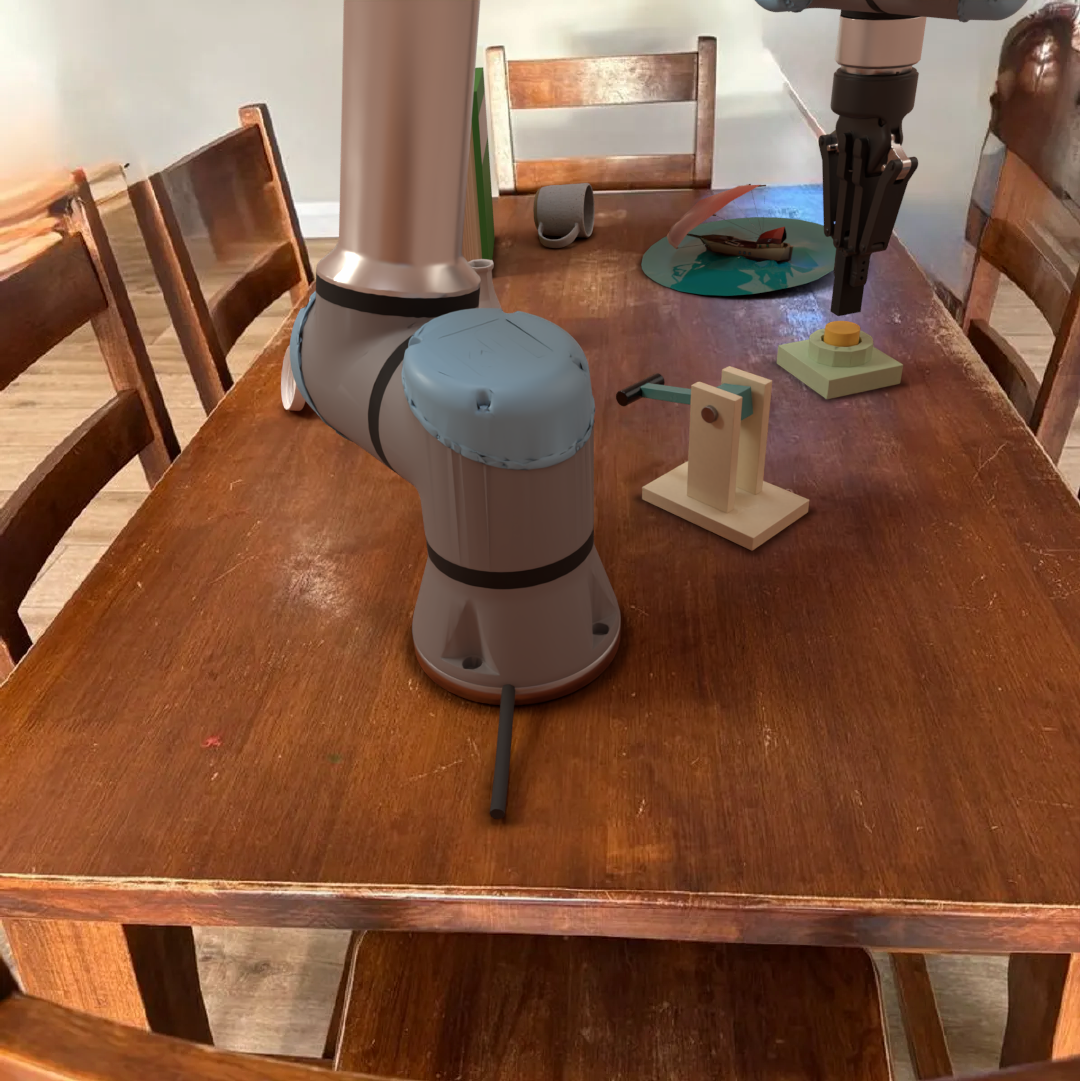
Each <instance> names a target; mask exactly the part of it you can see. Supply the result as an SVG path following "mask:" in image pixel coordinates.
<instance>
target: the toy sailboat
mask: <svg viewBox="0 0 1080 1081" xmlns="http://www.w3.org/2000/svg"><path fill="white" fill-rule="evenodd" d="M761 187H762V188H763V187H767V184H752V183H746V184H743V185H741V184H740V185H737V186H735V187H733V188H730V189H726V190H724V191H721V192H718V193H716V194H713V195H710V196H708V197H705V198H702V199H700V200H698V201H697V202H696V204H694V205H693V206H692V207H691V208H690V209H689V210H688V211H687V212H685V214H684V215H683V216H681V217H680V218H679V219H678V220H677V221H676V222H675V223H674V224H672V225H671V226H670V228H669V230H668V232H667V235H666V236H664V237H662V238H660V239H659V240H658V241H656V242H654V243H653V244H652V245H650V247H649V248H648V249H647V250H646V251H645V252H644V254H643V255H642V259H641V264H640V265H641V266H640V267H641V270H642V271H643V273H644V274H645V276H647V277H648V278H649V279H651V280H652V281H654V282H656V283H657V284H659V285H661V286H662V287H666V288H669V289H672V290H675V291H678V292H683V293H689V294H695V295H703V296H720V297H721V296H723V297H729V296H731V297H733V296H744V295H755V294H760V293H761V294H762V293H767V292H773V291H778V290H783V289H788V288H793V287H797V286H802V285H805V284H808V283H812V282H815V281H817V280H819V279H821V278H822V277H825V276H826V275H827V274H830V273H831V272H834V266H835V265H834V263H835V254H836V248H835V247H834V245H833V239H832V237H831V236H830V237H826V236H825V234H824V224H820V223H817V222H813V221H809V220H804V219H800V218H799V219H798V218H789V217H788V218H787V217H775V216H773V217H772V216H771V217H770V216H759V215H758V214H756V216H753V217H751V216H749V217H737V218H729V219H728V218H727V219H724V218H723V219H721V217H720V216H718V215H717V214H716V213H718V212H719V211H720V210H722V209H723V208H724V207H726V206H727V205H728V204H730V203H731V202H733V203H735V200H736V199H738V198H740V197H742V196H743V195H745V194H747V193H749V192H753V191H752V190H754V189H756V188H761ZM751 194H752V197H754V195H753V193H751ZM752 200H753V201H755V199H754V198H752ZM765 201H766V197H764V202H763V203H765ZM753 203H754V205H756V203H755V202H753ZM736 207H737V208H738V209H740V207H739V206H738V205H736ZM754 208H755V209H757V207H756V206H755V207H754ZM755 212H756V213H758V212H757V210H755ZM741 213H742V214H744V211H741ZM712 216H713V217H718V218H720V219H721V220H714V221H709V222H705V221H707V220H708V219H709V218H710V217H712Z"/></svg>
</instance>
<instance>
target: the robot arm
mask: <svg viewBox="0 0 1080 1081" xmlns="http://www.w3.org/2000/svg"><path fill="white" fill-rule="evenodd" d="M754 2H756V4H757V5H758V6H760V7H761V8H762V9H764V10H766V11H768V12H772V13H786V12H788V13H790V12H791V13H796V14H797V13H802V12H803V11H804V10H807V9H826V10H839V11H840V15H839V21H838V29H837V37H836V44H835V45H836V46H835V54H834V61H835V62H836V63H837V64H838V65H839V66H840V67H838V68H837V69H836V71H834V73H833V78H832V87H831V94H830V95H831V96H830V105H829V106H830V110H831V111H832V112H833V113H834V114H836V115H837V116H838V118H837V120H836V122H835V127H834V128H835V129H834V130H833V131H832V132H831V133H827V134H821V135H819V137H818V142H817V143H818V149H819V152H820V157H821V168H822V170H821V171H822V173H821V174H822V206H823V207H822V209H823V210H822V212H823V225H824V234H825V236H826V237H830V236H831V237H832V239H833V245H834V247H835V248H836V254H835V263H834V265H835V266H834V270H833V286H832V293H831V294H832V295H831V302H830V310H829V311H830V313H831V314H833V315H835V316H837V317H842V316H847V315H852V314H857V313H861V312H862V305H863V297H864V290H865V285H867V284H866V283H867V281H868V276H869V275H868V274H869V268H870V263H871V262H870V261H871V256H872V254H873V253H879V252H884V251H886V250H887V249H888V247H889V244H890V241H891V237H892V234H893V231H894V229H895V225H896V222H897V219H898V215H899V212H900V209H901V206H902V203H903V199H904V197H905V193H906V191H907V187H908V183H909V181H910V180H911V178H912V176H913V175H914V174H915V172H916V171H917V169H918V167H919V160H918V158H917V157H916V156H909V157H908V155H907V154H906V152H905V150H904V149H903V147H902V146H903V143H904V132H903V121H904V119H905V118H906V116H907V115H908V114H910V113H911V112H912V111H913V110H914V107H915V104H916V103H915V102H916V95H917V89H918V83H919V82H918V81H919V75H920V73H919V71H918V70H917V68H916V67H913V66H915V65H917V64H918V63H919V62H920V61H921V60H922V59H921V58H922V51H923V47H924V45H923V44H924V37H925V31H926V24H927V18H931V19H933V18H934V19H944V20H954V21H958V22H959V23H960V22H961V23H963V24H964V23H968V22H969V21H1003V20H1005V19H1008V18H1010V17H1012V16H1013V15H1015V14H1016V13H1017V12H1019V11H1020V10H1021V9H1022V8H1023V7H1024V5H1026V3H1027V2H1028V0H754ZM342 9H343V18H342V60H341V61H342V62H341V63H342V64H341V65H342V67H341V71H342V72H341V73H342V74H341V112H340V115H341V117H340V118H341V119H340V164H339V214H338V215H339V219H338V221H339V222H338V241H337V243H336V245H335V246H334V247H333V248H332V249H331V250H330V251H329V252H328V253H327V254H325V255H324V256H323V257H322V258H321V259H320V260H318V262H317V263H316V268H315V290H314V292H313V293H311V295H310V296H309V300H310V301H308V302H307V304H306V305H305V306H304V307H302V308H300V309H299V311H298V313H297V316H296V318H295V319H294V322H293V326H292V329H291V334H290V339H289V346H290V363H291V369H292V373H293V377H294V380H295V382H296V385H297V387H298V389H299V391H300V393H301V395H302V396H303V398H304V399H305V403H307V405H308V406H309V407H310V408H311V409H312V410H313V412H314V413H316V415H317V416H318V418H320V420H321V421H322V422H323V423H324V424H325V425H326V426H327V427H329V428H330V429H333V431H335V433H336V434H337V435H338V436H341V437H342V438H344V439H346V440H347V441H350V442H352V443H354V444H355V445H357V446H358V447H359V448H361V449H362V450H364V451H365V452H366V453H368V454H369V455H370V456H372V457H373V458H374V459H376V460H377V461H378V462H380V463H381V464H383V465H384V466H385V467H386V468H388V469H390V470H391V471H392V472H394V473H395V474H397V475H398V476H399V477H401V478H402V479H403V480H405V481H406V482H408V483H409V484H411V485H412V486H413V487H414V488H415V489H416V490H417V493H418V496H419V498H420V506H421V514H422V520H423V530H424V535H425V542H426V550H427V551H426V552H427V559H426V563H425V567H424V571H423V575H422V579H421V582H420V586H419V591H418V595H417V599H416V602H415V606H414V610H413V616H412V623H411V625H412V626H411V634H412V640H413V646H414V647H413V648H414V653H415V656H416V661H417V662H418V664H419V666H420V668H421V669H422V670H423V672H424V673H425V674H426V675H427V677H428V678H429V679H430V680H432V682H433V683H435V684H436V685H437V686H439V687H440V688H442V689H443V690H445V691H446V692H449V693H450V694H453V695H455V696H457V697H460V698H462V699H463V698H464V699H466V700H469V701H471V702H476V703H481V704H482V703H483V704H486V705H487V704H489V705H496V706H499V715H498V716H499V717H498V728H497V738H496V751H495V761H494V772H493V782H492V789H491V799H490V806H489V816H490V818H493V819H495V820H501V819H504V818H505V815H506V809H507V808H506V807H507V798H508V790H509V789H508V788H509V778H510V777H509V775H510V767H511V766H510V764H511V752H512V739H513V726H514V713H515V712H514V711H515V706H523V705H533V704H534V705H535V704H539V703H544V702H548V701H553V700H556V699H559V698H562V697H565V696H567V695H570V694H572V693H574V692H577V691H578V690H580V689H583V688H584V687H586V686H587V685H588V684H591V683H592V682H593V681H594V680H596V679H597V678H598V677H600V675H601V674H603V673H604V672H605V671H606V670H607V668H609V666H610V664H611V663H612V662H613V661H614V659H615V657H616V656H617V654H618V653H617V652H618V650H619V647H620V643H621V631H622V630H621V629H622V625H621V623H622V622H621V618H622V617H621V610H620V606H619V603H618V598H617V596H616V594H615V592H614V591H615V590H614V589H613V586H612V584H611V581H610V579H609V577H608V574H607V572H606V570H605V567H604V565H603V562H602V560H601V557H600V555H599V552H598V550H597V547H596V545H595V414H596V404H595V402H596V401H595V398H594V395H593V389H592V381H591V373H590V372H591V370H590V366H589V361H588V359H587V356H586V353H585V351H584V350H583V348H582V347H581V346H580V344H579V342H578V341H577V340H576V339H575V338H574V337H573V335H572V334H570V332H568V331H567V330H565V329H564V328H562V327H561V326H560V325H558V324H556V323H554V322H553V321H550V320H548V319H546V318H545V317H541V316H539V315H536V314H533V313H529V312H525V311H522V310H516V311H514V312H509V313H507V312H504V310H503V308H502V309H499V308H479V298H480V286H481V279H480V276H479V275H478V274H477V273H476V271H475V270H474V269H473V268H472V266H471V265H470V264H469V263H468V262H467V260H466V259H465V258H464V257H463V254H462V243H463V229H464V216H465V202H466V188H467V175H468V161H469V148H470V134H471V120H472V107H473V93H474V80H475V68H476V65H477V53H478V52H477V51H478V37H479V36H478V35H479V25H480V24H479V22H480V10H481V0H343V8H342Z"/></svg>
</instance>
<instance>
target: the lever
mask: <svg viewBox="0 0 1080 1081" xmlns="http://www.w3.org/2000/svg"><path fill="white" fill-rule="evenodd" d="M665 384H666V382H665V377H664V376H663V375H662V374H661V373H659V372H655V373H653V374H651V375H649V376H647V377H645V378H643V379H641V380H639V381H637V382H634V383H633V384H630V385H629V386H626V387H624V388H622V389H620V390H618V391H617V392H616V393H615V399H616V402H617V404H618V405H619V406H621V407H627V406H629V405H631V404H633V403H635V402H636V401H638V400H641V399H642V398H644V399H650V400H656V401H663V402H670V403H677V404H682V405H689V406H691V388H686V387H681V386H672V385H665ZM715 387H716V388H719V389H722V390H724V391H727V392H730V393H733V394H736V395H738V396H741V397H742V410H741V421H742V420H743V419H745V418H747V417H749V416H750V415H752V414H753V404H752V392H751V387H750V386H742V385H734V384H727V383H723V384H721V383H720V385H717V386H715Z"/></svg>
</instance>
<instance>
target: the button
mask: <svg viewBox="0 0 1080 1081" xmlns="http://www.w3.org/2000/svg"><path fill="white" fill-rule="evenodd" d="M824 328H825V333H824V341H823V342H825V343H826V344H828V345H832V346H836V347H850V346H855V345H858V343H859V336H860V331H861V326H860V325H859V324H857V323H855V322H852V321H849V320H834V321H830V322H828V323H826V324H825V326H824Z"/></svg>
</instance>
